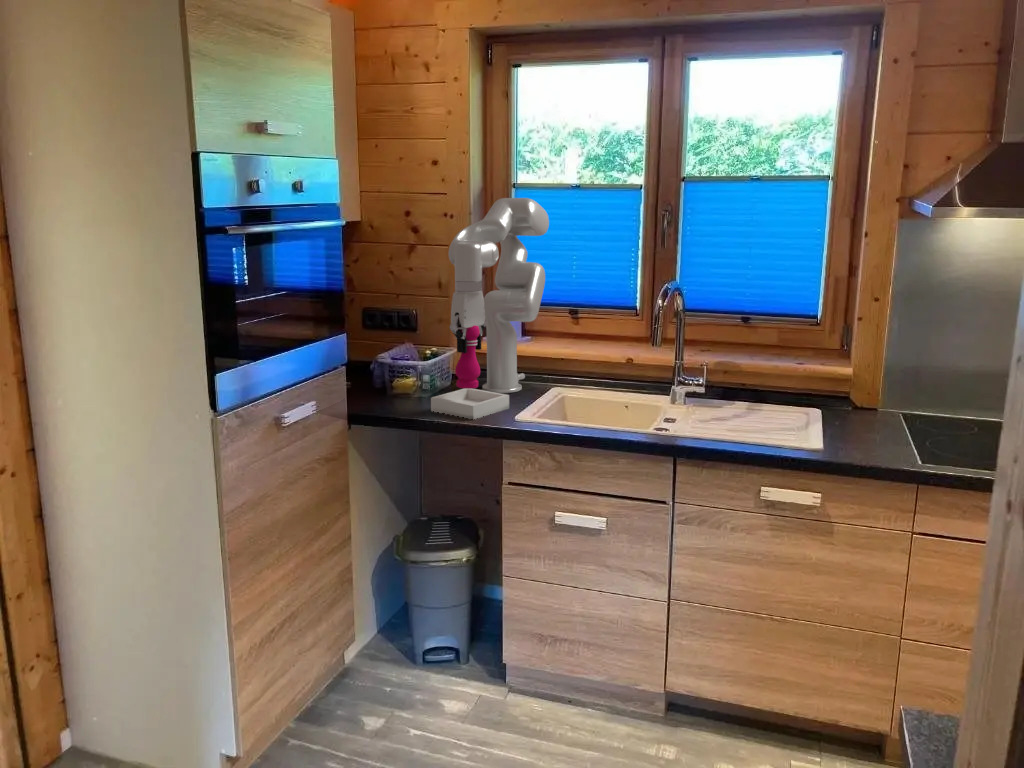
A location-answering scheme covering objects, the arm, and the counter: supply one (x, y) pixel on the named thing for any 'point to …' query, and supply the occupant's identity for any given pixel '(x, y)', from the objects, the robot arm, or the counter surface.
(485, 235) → the robot arm
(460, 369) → the pepper mill
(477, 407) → the tray
